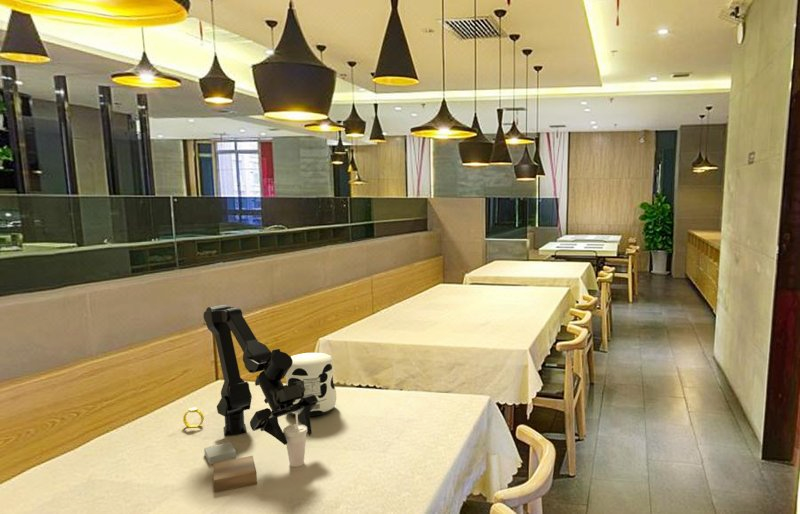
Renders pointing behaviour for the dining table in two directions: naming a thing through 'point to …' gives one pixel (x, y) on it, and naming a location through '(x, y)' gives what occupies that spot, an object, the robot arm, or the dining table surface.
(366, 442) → the dining table surface
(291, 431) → the smoothie
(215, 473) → the walnut block
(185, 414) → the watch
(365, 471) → the dining table surface
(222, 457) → the grey tile
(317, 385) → the milk container
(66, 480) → the dining table surface
